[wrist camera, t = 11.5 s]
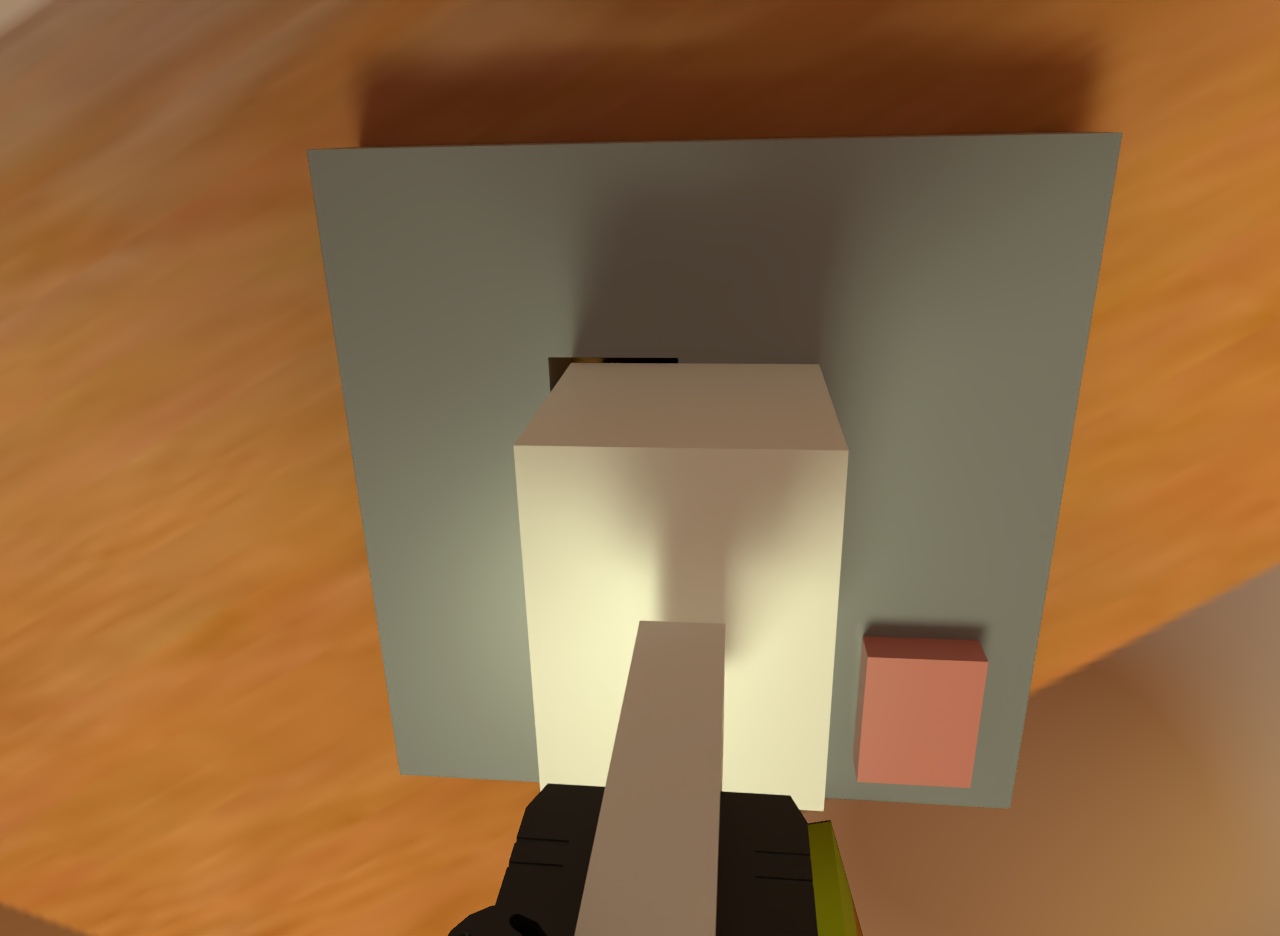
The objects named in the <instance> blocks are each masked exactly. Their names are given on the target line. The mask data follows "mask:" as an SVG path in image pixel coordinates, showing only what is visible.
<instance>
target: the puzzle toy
mask: <svg viewBox="0 0 1280 936" xmlns="http://www.w3.org/2000/svg"><path fill="white" fill-rule="evenodd" d="M808 833H809V843H810V854H811V855H810V859H811V865H812V875H813V886H814V897H815V907H816V918H817V929H818V936H863V934H862V930H861V927H860V923H859V920H858V916H857V913H856V909H855V906H854V902H853V898H852V895H851V891H850V888H849V884H848V881H847V877H846V874H845V870H844V866H843V863H842V859H841V856H840V852H839V848H838V845H837V841H836V838H835V835H834V831H833V827H832V823H831V820H826V821H820V822H813V823H808Z"/></svg>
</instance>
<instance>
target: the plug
mask: <svg viewBox="0 0 1280 936" xmlns="http://www.w3.org/2000/svg"><path fill="white" fill-rule="evenodd" d="M513 447H514V460H515V473H516V486H517V498H518V511H519V524H520V537H521V550H522V562H523V575H524V588H525V601H526V614H527V626H528V639H529V652H530V665H531V678H532V690H533V703H534V716H535V729H536V742H537V754H538V767H539V780H540V792H541V791H542V789H543V788H544V787H545V786H546V785H547V784H548V783H551V784H568V785H584V786H601V787H605V785H606V781H607V776H608V771H609V766H610V761H611V757H612V752H613V747H614V742H615V737H616V732H617V728H618V723H619V718H620V713H621V708H622V703H623V699H624V694H625V689H626V684H627V679H628V674H629V670H630V665H631V660H632V655H633V650H634V645H635V641H636V636H637V631H638V626H639V621H665V622H691V623H717V624H725V681H724V742H723V780H722V791H724V792H741V793H758V794H775V795H790V796H791V797H792V799H793V801H794V802H795V804H796V805H797V807H798V809H799V810H810V811H824V800H825V786H826V771H827V757H828V743H829V728H830V714H831V699H832V685H833V670H834V656H835V642H836V627H837V613H838V598H839V584H840V569H841V555H842V541H843V526H844V512H845V497H846V483H847V468H848V454H849V450H848V447H847V444H846V441H845V438H844V435H843V432H842V430H841V427H840V424H839V421H838V418H837V415H836V412H835V409H834V406H833V403H832V400H831V397H830V395H829V392H828V389H827V386H826V383H825V380H824V377H823V374H822V371H821V368H820V365H819V364H692V363H571V364H570V365H569V367H568V368H567V370H566V371H565V372H564V374H563V375H562V377H561V378H560V380H559V381H558V382H557V384H556V385H555V387H554V388H553V390H552V391H551V392H550V394H549V395H548V397H547V398H546V400H545V401H544V402H543V404H542V405H541V407H540V408H539V410H538V411H537V412H536V414H535V415H534V417H533V418H532V420H531V421H530V422H529V424H528V425H527V427H526V428H525V430H524V431H523V432H522V434H521V435H520V437H519V438H518V440H517V441H516V442H515V444H514V445H513Z"/></svg>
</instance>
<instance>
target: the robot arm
mask: <svg viewBox="0 0 1280 936" xmlns="http://www.w3.org/2000/svg"><path fill="white" fill-rule="evenodd" d="M724 681H725V624H717V623H691V622H665V621H639V626H638V631H637V636H636V641H635V645H634V650H633V655H632V660H631V665H630V670H629V674H628V679H627V684H626V689H625V694H624V699H623V703H622V708H621V713H620V718H619V723H618V728H617V732H616V737H615V742H614V747H613V752H612V757H611V761H610V766H609V771H608V776H607V781H606V785H605V787H601V786H584V785H568V784H551V783H548V784H547V785H546V786H545V787H544V788H543V789H542V791H541V792H540V793H539V794H538V795H537V796H536V797H535V798H534V799H533V801H532V802H531V803H530V804H529V805H528V806H527V807H526V810H525V813H524V816H523V819H522V822H521V825H520V829H519V832H518V835H517V841H516V843H515V844H514V847H513V851H512V854H511V857H510V860H509V867H507V870H506V873H505V876H504V879H503V882H502V885H501V888H500V892H499V895H498V898H497V901H496V904H495V906H490V907H488V908H485V909H483V910H480V911H478V912H476V913H473V914H471V915H469V916H468V917H467V918H465V919H464V920H463V921H462V922H461V923H459V924H458V925H457V926H456V927H455V928H453V929H452V930H451V931H450V933H449V935H448V936H818V929H817V918H816V907H815V897H814V886H813V875H812V865H811V859H810V855H811V854H810V843H809V833H808V823H807V821H806V820H805V818H804V817H803V815H802V813H801V812H800V810H799V809H798V807H797V805H796V804H795V802H794V801H793V799H792V797H791V796H790V795H775V794H758V793H741V792H724V791H722V780H723V742H724Z"/></svg>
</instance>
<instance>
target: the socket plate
mask: <svg viewBox="0 0 1280 936" xmlns="http://www.w3.org/2000/svg"><path fill="white" fill-rule="evenodd" d="M1121 138H1122V133H1111V132H1037V133H989V134H942V135H895V136H848V137H800V138H753V139H706V140H658V141H611V142H564V143H517V144H469V145H422V146H375V147H347V148H329V149H312V150H307V155H308V162H309V168H310V175H311V182H312V189H313V195H314V202H315V209H316V215H317V222H318V229H319V235H320V242H321V249H322V255H323V262H324V269H325V276H326V282H327V289H328V296H329V302H330V309H331V316H332V322H333V329H334V336H335V342H336V349H337V356H338V363H339V369H340V376H341V383H342V389H343V396H344V403H345V409H346V416H347V423H348V429H349V436H350V443H351V450H352V456H353V463H354V470H355V476H356V483H357V490H358V496H359V503H360V510H361V516H362V523H363V530H364V536H365V543H366V550H367V557H368V563H369V570H370V577H371V583H372V590H373V597H374V603H375V610H376V617H377V623H378V630H379V637H380V644H381V650H382V657H383V664H384V670H385V677H386V684H387V690H388V697H389V704H390V710H391V717H392V724H393V731H394V737H395V744H396V751H397V757H398V764H399V771H400V775H418V776H436V777H454V778H472V779H490V780H508V781H526V782H540V780H539V767H538V754H537V742H536V729H535V716H534V703H533V690H532V678H531V665H530V652H529V639H528V626H527V614H526V601H525V588H524V575H523V562H522V550H521V537H520V524H519V511H518V498H517V486H516V473H515V460H514V447H513V445H514V444H515V442H516V441H517V440H518V438H519V437H520V435H521V434H522V432H523V431H524V430H525V428H526V427H527V425H528V424H529V422H530V421H531V420H532V418H533V417H534V415H535V414H536V412H537V411H538V410H539V408H540V407H541V405H542V404H543V402H544V401H545V400H546V398H547V397H548V395H549V394H550V392H551V391H552V390H553V388H554V387H555V385H556V384H557V382H558V381H559V380H560V378H561V377H562V375H563V374H564V372H565V371H566V370H567V368H568V367H569V365H570V364H571V357H590V358H678V363H692V364H819V365H820V368H821V371H822V374H823V377H824V380H825V383H826V386H827V389H828V392H829V395H830V397H831V400H832V403H833V406H834V409H835V412H836V415H837V418H838V421H839V424H840V427H841V430H842V432H843V435H844V438H845V441H846V444H847V447H848V450H849V454H848V468H847V483H846V497H845V512H844V526H843V541H842V555H841V569H840V584H839V598H838V613H837V627H836V642H835V656H834V670H833V685H832V699H831V714H830V728H829V743H828V757H827V771H826V786H825V798H831V799H849V800H868V801H886V802H904V803H922V804H939V805H957V806H976V807H994V808H1010V805H1011V799H1012V793H1013V787H1014V781H1015V775H1016V769H1017V763H1018V757H1019V751H1020V745H1021V738H1022V733H1023V727H1024V721H1025V715H1026V708H1027V703H1028V697H1029V691H1030V685H1031V679H1032V673H1033V667H1034V661H1035V655H1036V649H1037V643H1038V637H1039V631H1040V625H1041V619H1042V613H1043V607H1044V601H1045V595H1046V589H1047V583H1048V577H1049V571H1050V565H1051V559H1052V553H1053V547H1054V541H1055V535H1056V529H1057V523H1058V517H1059V511H1060V505H1061V499H1062V493H1063V487H1064V481H1065V475H1066V469H1067V463H1068V457H1069V451H1070V445H1071V439H1072V433H1073V427H1074V421H1075V415H1076V409H1077V403H1078V397H1079V391H1080V385H1081V379H1082V373H1083V367H1084V361H1085V355H1086V349H1087V343H1088V337H1089V331H1090V325H1091V319H1092V313H1093V307H1094V301H1095V295H1096V289H1097V283H1098V277H1099V271H1100V265H1101V259H1102V253H1103V247H1104V241H1105V235H1106V229H1107V223H1108V217H1109V211H1110V205H1111V199H1112V193H1113V186H1114V180H1115V174H1116V168H1117V162H1118V156H1119V150H1120V144H1121Z"/></svg>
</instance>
